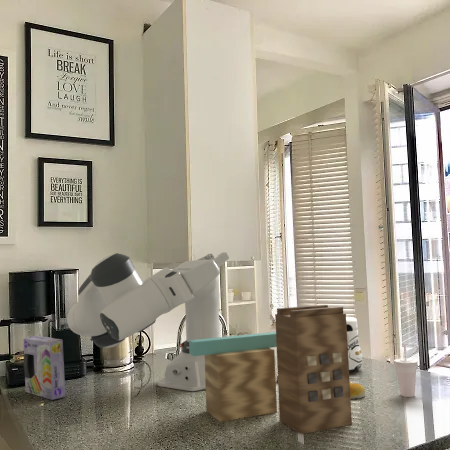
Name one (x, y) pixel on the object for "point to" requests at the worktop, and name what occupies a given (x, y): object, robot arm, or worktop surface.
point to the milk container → (353, 344)
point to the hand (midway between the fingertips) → (219, 255)
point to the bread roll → (356, 391)
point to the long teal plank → (232, 344)
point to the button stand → (313, 368)
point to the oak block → (240, 384)
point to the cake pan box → (44, 367)
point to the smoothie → (406, 375)
